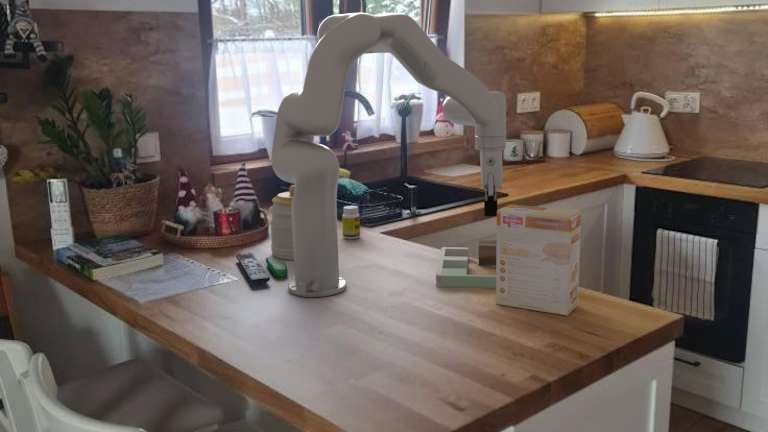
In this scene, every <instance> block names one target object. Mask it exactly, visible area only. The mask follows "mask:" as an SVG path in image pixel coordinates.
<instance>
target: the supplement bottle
mask: <svg viewBox="0 0 768 432" xmlns="http://www.w3.org/2000/svg"><path fill="white" fill-rule="evenodd" d="M341 216H342V217H341V218H342V220H341V221H342V237H343V238H344V239H345V240H346V239H347V240H355V239H359V238H361V222H360V221H361V220H360V219H361V218H360V216H361V215H360V213H359V206H357V205H346V206H344V207H343V214H342V215H341Z"/></svg>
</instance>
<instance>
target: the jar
mask: <svg viewBox="0 0 768 432" xmlns="http://www.w3.org/2000/svg"><path fill="white" fill-rule="evenodd" d="M294 190H295V184H293V185H290V186H289V188H288V191H283V192H280V193H278V194H276V196H275V197H273V198H272V199H271V202H272V203H273V205H271V206H270V207H269V208H268V211H269V213H270V215H271V219H270V221H269V225H270V236H271V244H270V247H271V249H270V250H271V252H272V256H273V257H274V258H276V259H280V260H288V261H291V260H292V261H294V250H293V229H292V199H293V195H294Z"/></svg>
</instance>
